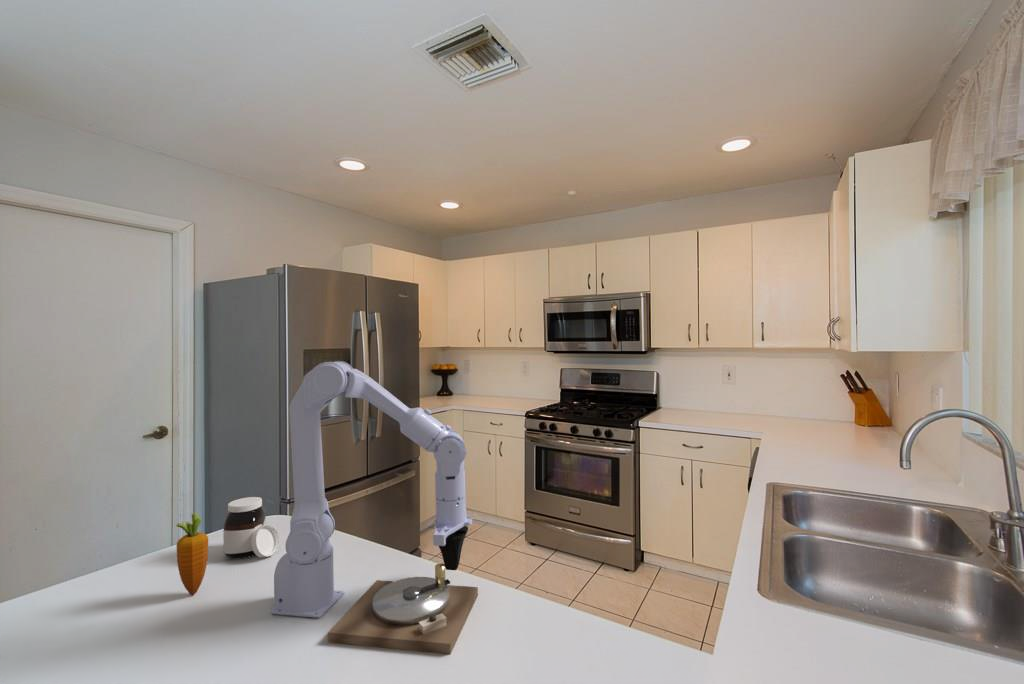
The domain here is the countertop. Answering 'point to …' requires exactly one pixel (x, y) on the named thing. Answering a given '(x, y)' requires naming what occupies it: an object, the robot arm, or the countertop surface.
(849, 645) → the countertop surface
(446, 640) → the stand
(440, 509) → the robot arm
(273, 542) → the spread jar
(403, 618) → the cam dial
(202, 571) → the carrot
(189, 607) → the countertop surface
